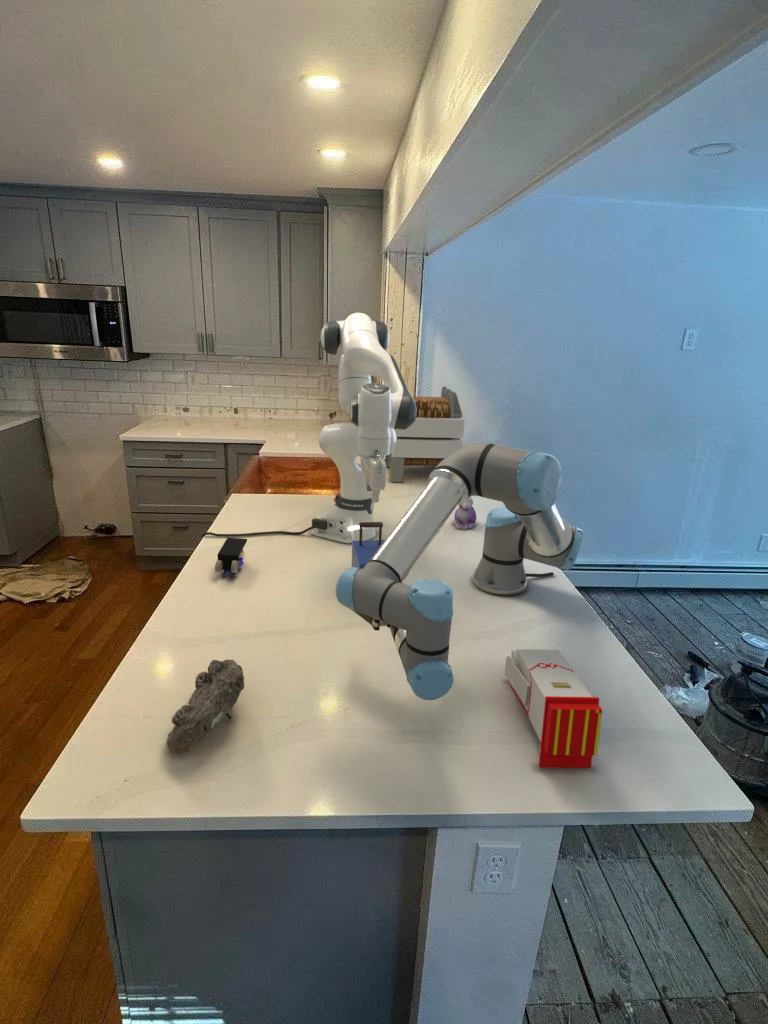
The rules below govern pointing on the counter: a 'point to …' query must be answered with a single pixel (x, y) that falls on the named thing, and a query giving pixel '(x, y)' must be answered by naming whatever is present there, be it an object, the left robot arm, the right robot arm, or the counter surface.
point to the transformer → (428, 434)
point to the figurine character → (230, 556)
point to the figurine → (465, 515)
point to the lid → (367, 544)
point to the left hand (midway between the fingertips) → (372, 496)
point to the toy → (556, 707)
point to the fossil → (206, 705)
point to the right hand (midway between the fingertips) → (392, 586)
